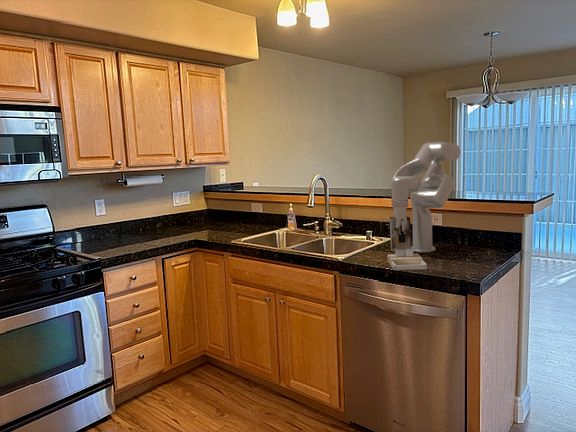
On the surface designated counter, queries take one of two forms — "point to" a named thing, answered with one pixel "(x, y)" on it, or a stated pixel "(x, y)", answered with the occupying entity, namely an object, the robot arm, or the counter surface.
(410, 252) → the offcut
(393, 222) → the coffee box
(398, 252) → the offcut
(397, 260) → the platform
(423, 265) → the tray
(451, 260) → the counter surface
